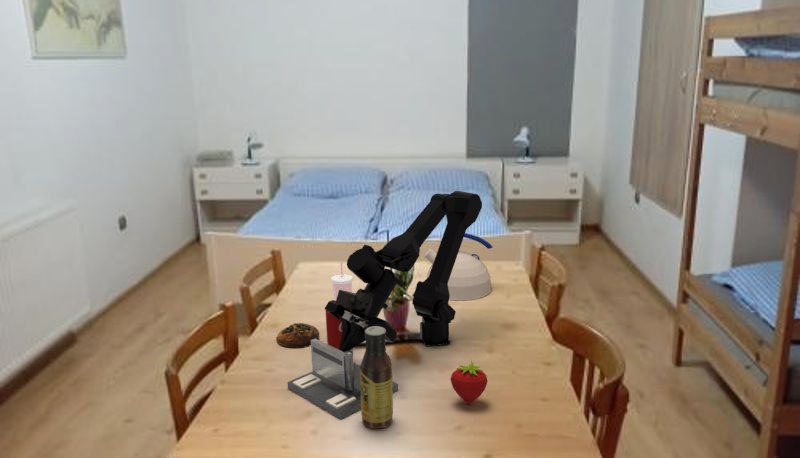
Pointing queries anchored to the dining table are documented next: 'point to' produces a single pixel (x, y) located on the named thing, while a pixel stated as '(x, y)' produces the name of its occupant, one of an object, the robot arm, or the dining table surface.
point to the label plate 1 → (306, 381)
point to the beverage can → (333, 330)
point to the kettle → (466, 274)
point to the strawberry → (469, 382)
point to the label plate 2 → (340, 401)
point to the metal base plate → (332, 393)
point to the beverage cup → (341, 283)
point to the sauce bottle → (376, 380)
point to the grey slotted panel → (333, 364)
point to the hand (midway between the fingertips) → (340, 354)
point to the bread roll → (297, 335)
